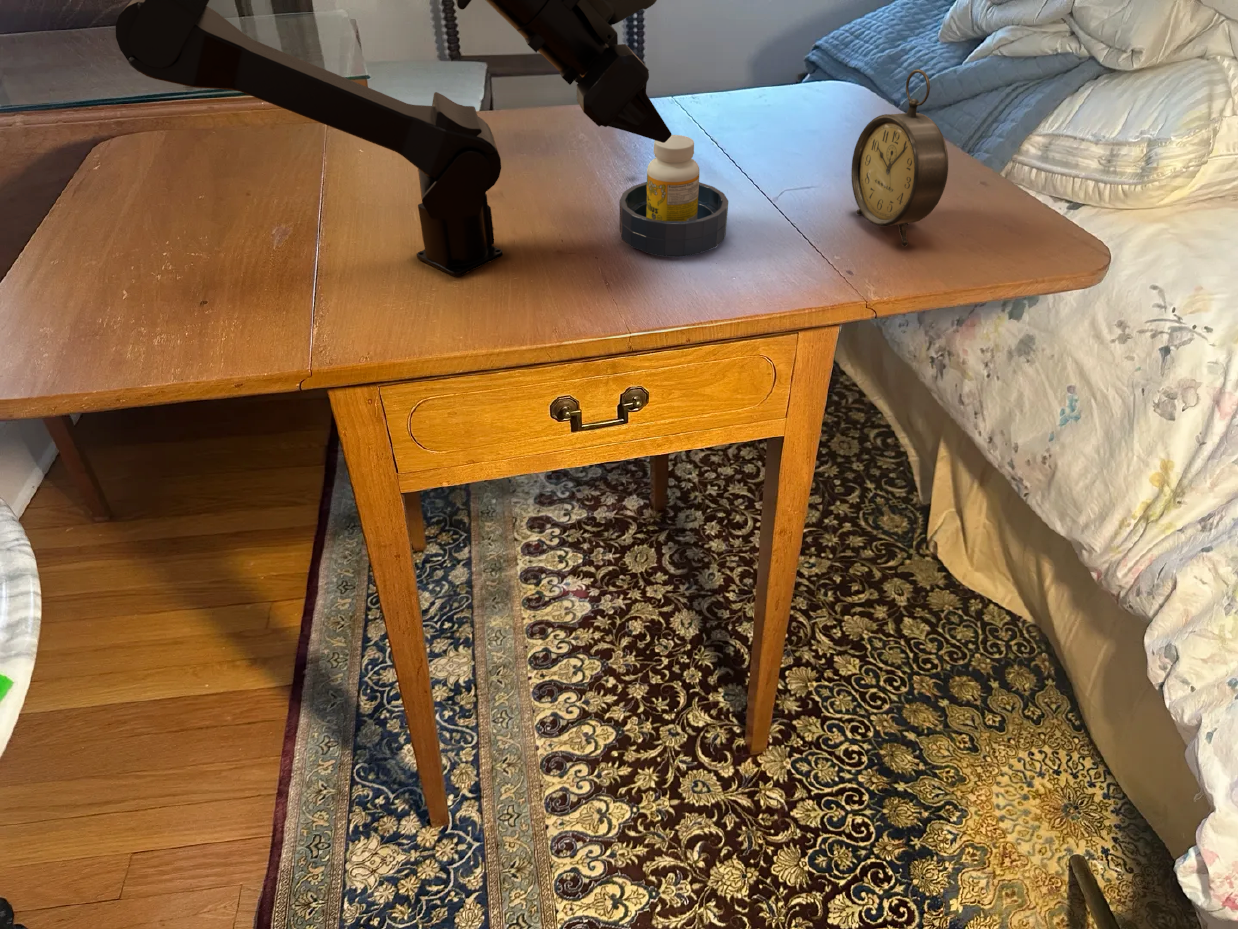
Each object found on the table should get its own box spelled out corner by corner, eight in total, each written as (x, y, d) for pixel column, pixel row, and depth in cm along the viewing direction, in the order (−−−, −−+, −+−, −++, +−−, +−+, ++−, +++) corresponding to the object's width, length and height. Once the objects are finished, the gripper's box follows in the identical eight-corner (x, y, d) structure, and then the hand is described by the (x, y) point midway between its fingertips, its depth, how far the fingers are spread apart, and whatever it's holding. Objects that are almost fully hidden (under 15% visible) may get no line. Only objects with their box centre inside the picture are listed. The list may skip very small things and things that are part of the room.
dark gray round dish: (681, 271, 86) (683, 233, 84) (598, 238, 92) (597, 202, 89) (746, 233, 93) (749, 198, 90) (664, 205, 98) (665, 170, 96)
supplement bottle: (701, 240, 90) (707, 149, 84) (651, 245, 90) (654, 153, 83) (688, 218, 94) (693, 130, 88) (641, 223, 94) (642, 133, 87)
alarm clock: (840, 212, 97) (866, 57, 86) (881, 204, 98) (912, 52, 88) (896, 254, 89) (933, 89, 78) (940, 245, 90) (982, 83, 80)
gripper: (623, -57, 65) (748, 85, 74) (579, -93, 79) (689, 30, 88) (527, 60, 69) (657, 182, 78) (502, 6, 83) (614, 115, 92)
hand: (655, 121), depth 84 cm, fingers open, 9 cm apart
